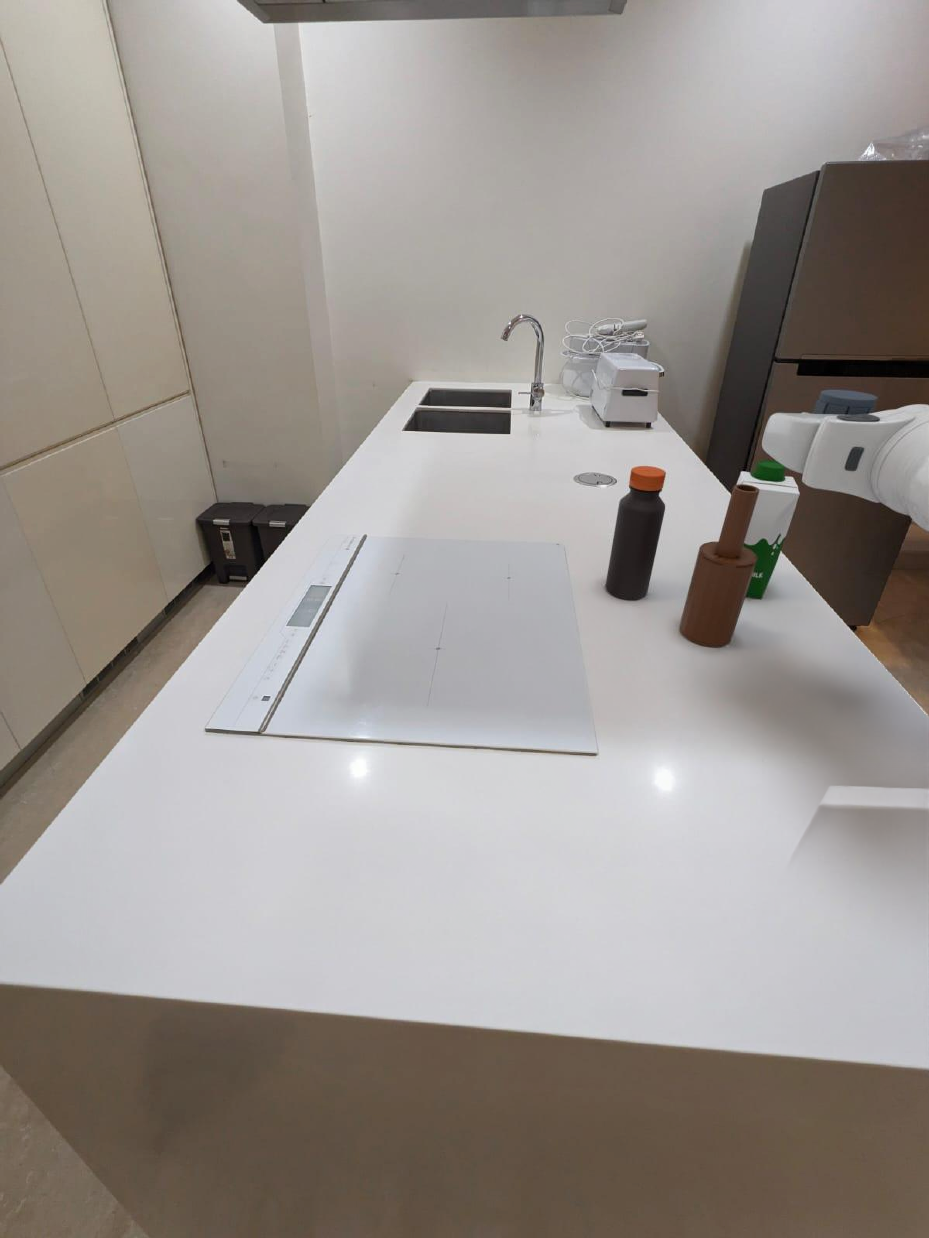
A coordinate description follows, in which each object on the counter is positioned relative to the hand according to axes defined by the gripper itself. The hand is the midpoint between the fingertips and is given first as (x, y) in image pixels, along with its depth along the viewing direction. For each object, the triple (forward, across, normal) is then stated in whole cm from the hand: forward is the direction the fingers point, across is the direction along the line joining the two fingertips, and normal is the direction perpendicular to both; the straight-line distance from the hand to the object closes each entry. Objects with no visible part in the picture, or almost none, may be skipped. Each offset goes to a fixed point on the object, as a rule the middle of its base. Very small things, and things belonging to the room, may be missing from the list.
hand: (834, 420), depth 65 cm
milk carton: (+18, -4, +31) cm, 36 cm away
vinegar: (+15, +15, +31) cm, 38 cm away
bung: (-1, 0, +5) cm, 5 cm away
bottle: (+3, +6, +31) cm, 32 cm away
